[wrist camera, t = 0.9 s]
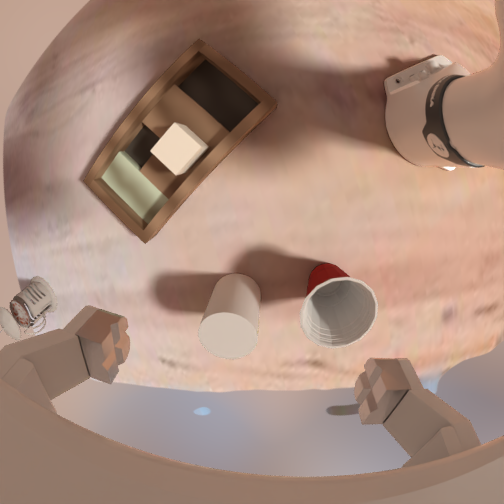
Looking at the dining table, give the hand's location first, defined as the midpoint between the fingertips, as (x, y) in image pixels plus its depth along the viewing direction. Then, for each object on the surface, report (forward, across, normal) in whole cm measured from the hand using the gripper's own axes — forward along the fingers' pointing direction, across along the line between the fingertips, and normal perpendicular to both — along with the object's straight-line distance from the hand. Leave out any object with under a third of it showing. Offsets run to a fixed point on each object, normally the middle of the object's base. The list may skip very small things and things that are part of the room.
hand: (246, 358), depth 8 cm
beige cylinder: (+35, +2, +18) cm, 40 cm away
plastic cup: (+35, -12, +12) cm, 39 cm away
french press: (+35, +47, +30) cm, 66 cm away
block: (+33, +12, -5) cm, 36 cm away
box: (+35, +15, -6) cm, 39 cm away
